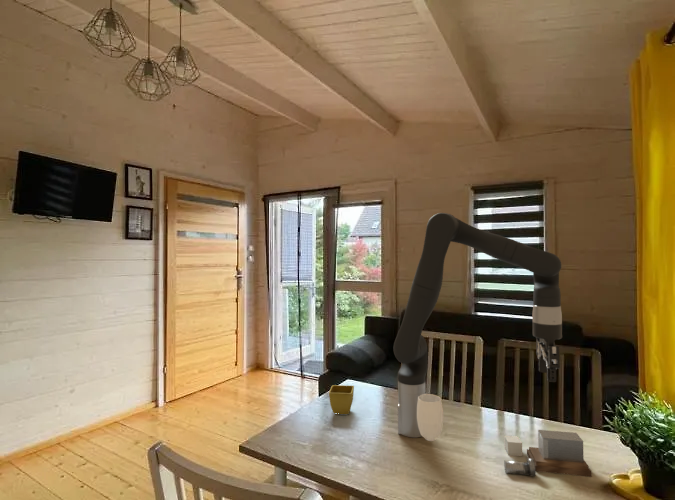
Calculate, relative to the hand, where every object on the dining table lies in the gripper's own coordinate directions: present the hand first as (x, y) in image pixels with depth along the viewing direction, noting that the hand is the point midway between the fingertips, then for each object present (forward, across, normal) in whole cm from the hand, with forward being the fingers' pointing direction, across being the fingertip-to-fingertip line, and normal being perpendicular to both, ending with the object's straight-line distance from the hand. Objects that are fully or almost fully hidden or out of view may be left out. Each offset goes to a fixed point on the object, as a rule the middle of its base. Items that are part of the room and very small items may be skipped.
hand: (547, 376), depth 113 cm
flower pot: (+25, +21, +66) cm, 74 cm away
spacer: (+24, +3, +9) cm, 26 cm away
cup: (+25, -14, +33) cm, 44 cm away
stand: (+24, -2, -2) cm, 24 cm away
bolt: (+24, -9, +10) cm, 28 cm away
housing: (+22, -2, -3) cm, 22 cm away
